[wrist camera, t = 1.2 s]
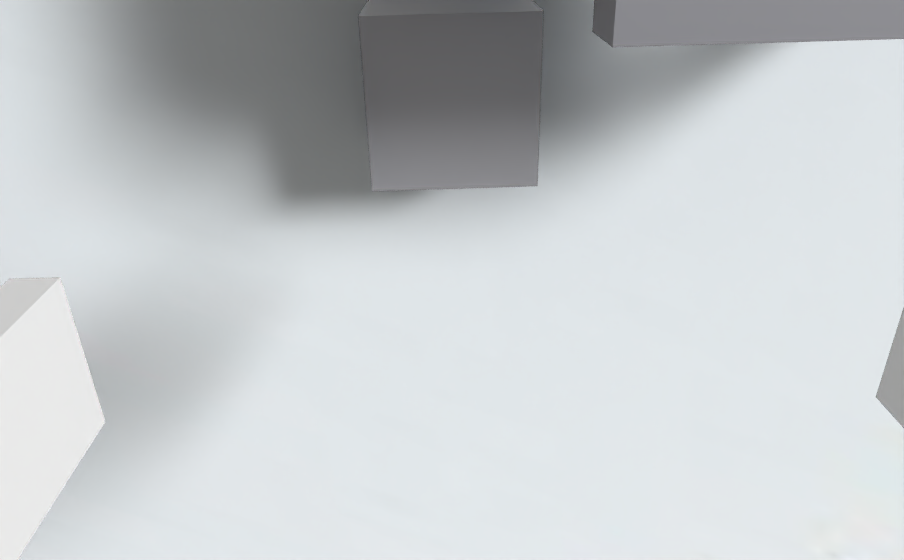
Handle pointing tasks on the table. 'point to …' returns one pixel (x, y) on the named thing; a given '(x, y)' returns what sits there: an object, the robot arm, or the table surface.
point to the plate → (745, 21)
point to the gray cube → (452, 92)
